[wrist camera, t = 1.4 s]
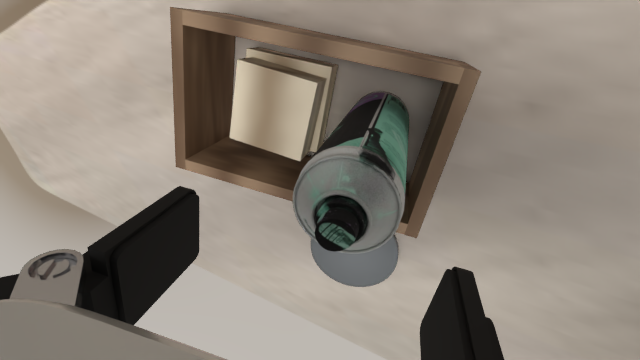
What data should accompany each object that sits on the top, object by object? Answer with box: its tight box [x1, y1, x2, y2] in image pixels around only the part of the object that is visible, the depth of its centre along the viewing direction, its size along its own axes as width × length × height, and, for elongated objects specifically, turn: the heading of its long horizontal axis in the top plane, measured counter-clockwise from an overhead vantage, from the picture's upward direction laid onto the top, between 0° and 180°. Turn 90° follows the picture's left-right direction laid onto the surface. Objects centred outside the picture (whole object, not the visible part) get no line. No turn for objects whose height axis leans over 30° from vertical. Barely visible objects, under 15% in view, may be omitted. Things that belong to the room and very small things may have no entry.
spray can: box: [293, 92, 409, 254], centre depth 22 cm, size 6×6×20 cm
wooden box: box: [170, 7, 481, 238], centre depth 28 cm, size 22×13×8 cm, turn 80°
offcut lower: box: [246, 47, 338, 152], centre depth 31 cm, size 8×8×3 cm
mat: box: [311, 235, 398, 287], centre depth 37 cm, size 10×10×1 cm
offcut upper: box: [230, 57, 327, 161], centre depth 29 cm, size 7×7×3 cm
